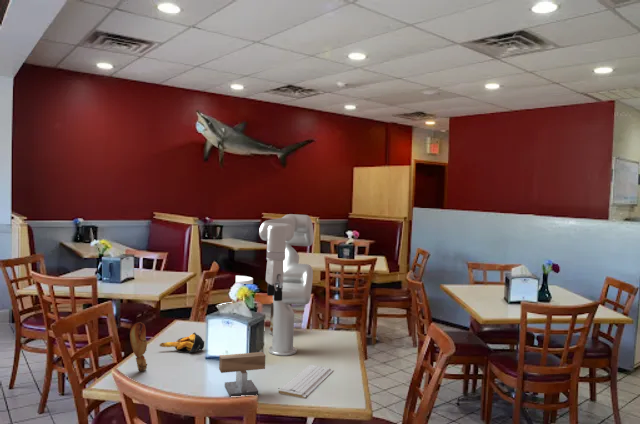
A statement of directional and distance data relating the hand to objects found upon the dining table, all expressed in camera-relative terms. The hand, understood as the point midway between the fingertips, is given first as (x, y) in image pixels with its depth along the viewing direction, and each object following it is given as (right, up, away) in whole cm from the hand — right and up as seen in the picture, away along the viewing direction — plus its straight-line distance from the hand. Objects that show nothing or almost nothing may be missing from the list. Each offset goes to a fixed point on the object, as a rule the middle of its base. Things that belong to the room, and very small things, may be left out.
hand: (274, 298), depth 204 cm
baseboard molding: (+14, -32, -7) cm, 36 cm away
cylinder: (-26, -27, +55) cm, 66 cm away
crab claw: (-53, -28, -4) cm, 60 cm away
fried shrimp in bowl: (-43, -28, +22) cm, 56 cm away
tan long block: (-10, -23, -19) cm, 31 cm away
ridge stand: (-10, -31, -19) cm, 37 cm away
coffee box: (-2, -28, +56) cm, 62 cm away
